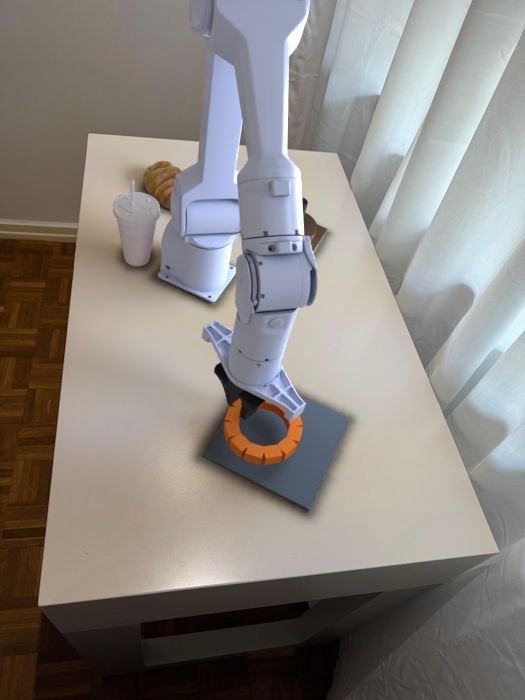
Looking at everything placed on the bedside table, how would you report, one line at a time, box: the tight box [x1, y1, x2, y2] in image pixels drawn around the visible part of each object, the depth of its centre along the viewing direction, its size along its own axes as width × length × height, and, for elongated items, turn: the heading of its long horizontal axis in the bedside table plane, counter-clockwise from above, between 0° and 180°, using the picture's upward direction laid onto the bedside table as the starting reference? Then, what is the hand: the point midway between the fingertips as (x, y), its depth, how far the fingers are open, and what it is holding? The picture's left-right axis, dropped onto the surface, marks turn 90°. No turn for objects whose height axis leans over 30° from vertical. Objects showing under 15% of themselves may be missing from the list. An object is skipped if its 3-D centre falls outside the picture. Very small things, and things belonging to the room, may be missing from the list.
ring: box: [223, 398, 303, 465], centre depth 69 cm, size 9×9×2 cm
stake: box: [302, 196, 328, 254], centre depth 91 cm, size 9×9×8 cm
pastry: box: [142, 160, 182, 211], centre depth 94 cm, size 9×7×4 cm
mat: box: [202, 392, 350, 511], centre depth 71 cm, size 14×14×1 cm
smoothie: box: [112, 177, 161, 267], centre depth 80 cm, size 6×6×14 cm
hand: (241, 407), depth 70 cm, fingers closed on ring, 2 cm apart
